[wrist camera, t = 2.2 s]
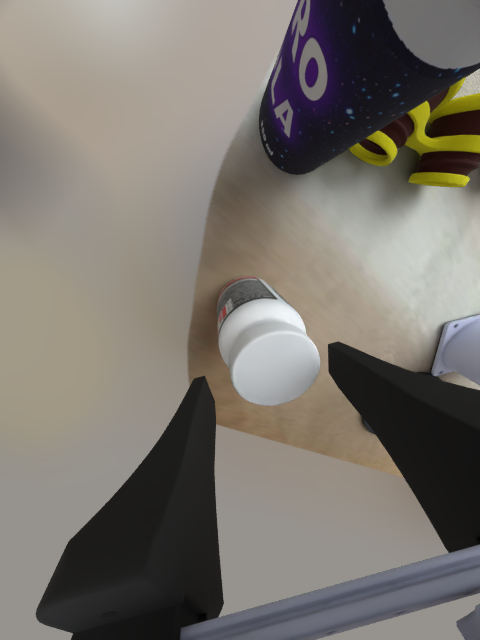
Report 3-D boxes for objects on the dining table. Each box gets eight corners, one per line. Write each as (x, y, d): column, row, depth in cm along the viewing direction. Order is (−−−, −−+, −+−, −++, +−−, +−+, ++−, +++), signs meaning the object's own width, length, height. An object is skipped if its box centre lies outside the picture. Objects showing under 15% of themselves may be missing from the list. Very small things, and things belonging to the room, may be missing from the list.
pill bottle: (209, 322, 19) (204, 403, 10) (227, 266, 17) (241, 305, 8) (262, 336, 20) (299, 419, 11) (284, 286, 18) (352, 338, 9)
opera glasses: (327, 152, 15) (365, 141, 11) (372, 46, 12) (446, -22, 8) (421, 194, 17) (482, 198, 13) (478, 112, 14) (578, 85, 10)
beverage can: (309, 43, 12) (1217, -1731, 1) (347, 138, 14) (775, -156, 3) (239, 117, 13) (367, -451, 2) (285, 195, 15) (459, 108, 4)
